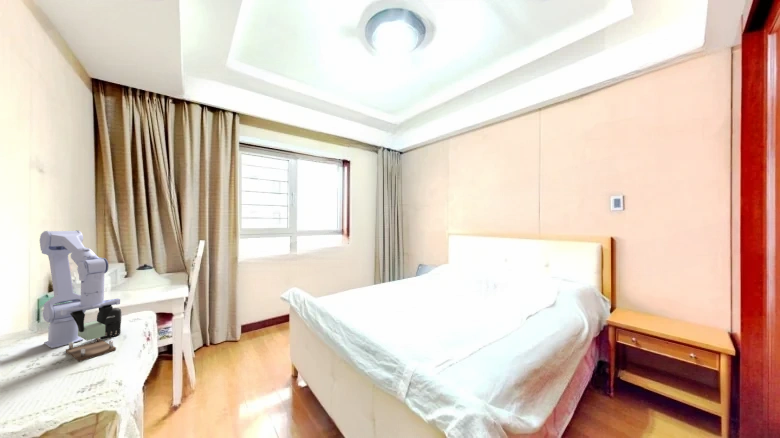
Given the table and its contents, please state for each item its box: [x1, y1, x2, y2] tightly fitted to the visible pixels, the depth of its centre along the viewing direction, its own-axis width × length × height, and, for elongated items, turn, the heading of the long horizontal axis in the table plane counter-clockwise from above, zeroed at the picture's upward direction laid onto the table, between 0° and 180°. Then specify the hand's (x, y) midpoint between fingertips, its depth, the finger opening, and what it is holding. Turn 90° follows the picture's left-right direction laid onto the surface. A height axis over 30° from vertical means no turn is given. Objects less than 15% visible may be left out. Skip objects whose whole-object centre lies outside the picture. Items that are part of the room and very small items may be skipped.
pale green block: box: [78, 320, 105, 341], centre depth 97 cm, size 9×4×4 cm, turn 64°
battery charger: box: [96, 307, 123, 340], centre depth 109 cm, size 7×4×11 cm, turn 130°
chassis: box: [65, 337, 117, 362], centre depth 97 cm, size 14×9×4 cm, turn 64°
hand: (91, 328), depth 97 cm, fingers closed on pale green block, 4 cm apart
